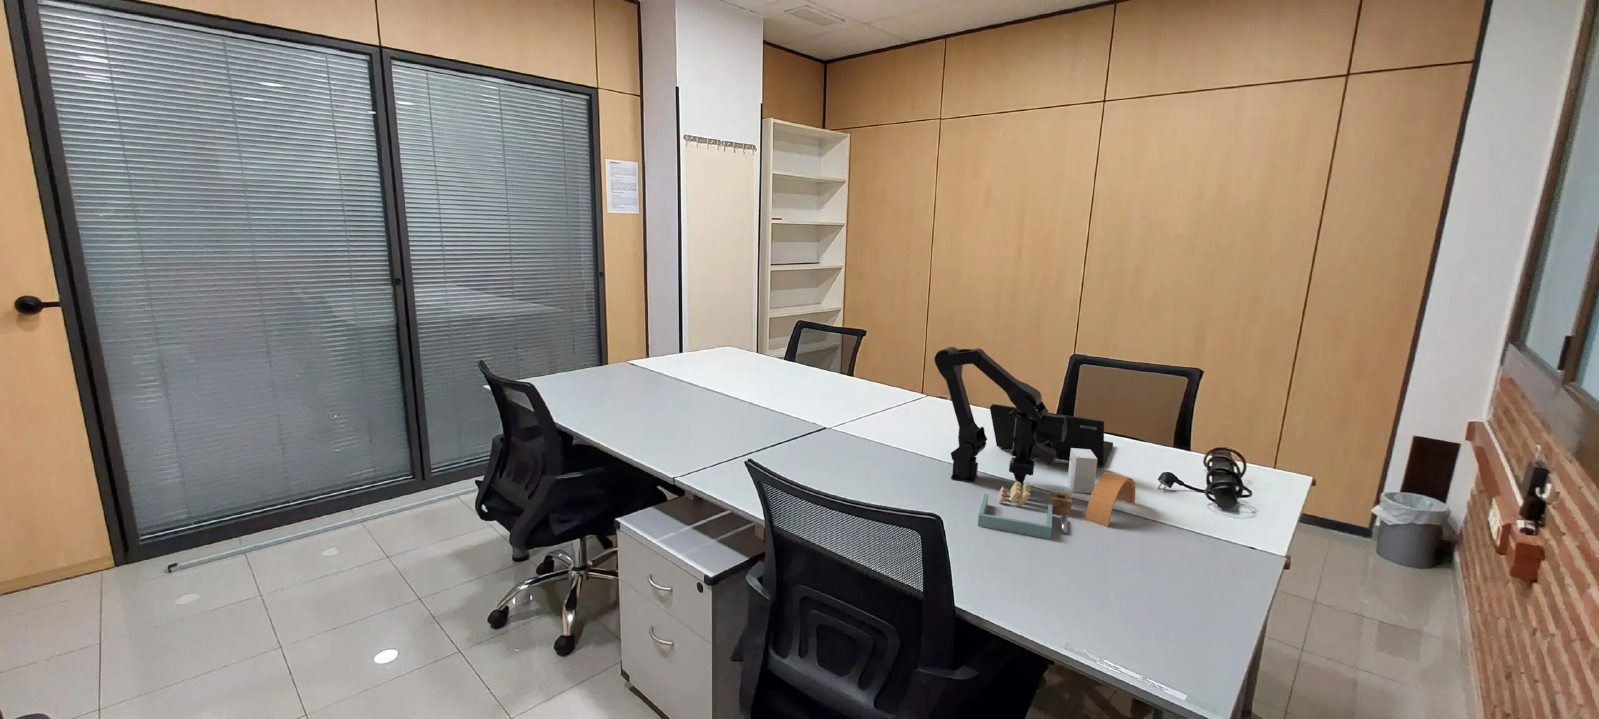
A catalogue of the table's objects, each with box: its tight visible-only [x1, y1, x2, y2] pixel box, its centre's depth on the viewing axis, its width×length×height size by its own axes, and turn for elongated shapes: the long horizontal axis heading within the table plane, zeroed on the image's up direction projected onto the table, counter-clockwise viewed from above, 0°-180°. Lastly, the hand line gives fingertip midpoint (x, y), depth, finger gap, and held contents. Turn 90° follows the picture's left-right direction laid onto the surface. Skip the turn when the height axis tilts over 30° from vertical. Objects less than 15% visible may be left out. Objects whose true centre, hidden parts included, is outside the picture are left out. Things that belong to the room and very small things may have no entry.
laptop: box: [989, 403, 1114, 468], centre depth 207 cm, size 33×38×19 cm
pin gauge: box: [1060, 515, 1068, 535], centre depth 158 cm, size 1×8×1 cm, turn 158°
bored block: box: [1049, 491, 1072, 517], centre depth 167 cm, size 5×5×4 cm
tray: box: [977, 493, 1053, 540], centre depth 161 cm, size 17×14×3 cm
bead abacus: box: [998, 480, 1032, 508], centre depth 172 cm, size 5×7×8 cm
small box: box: [1067, 448, 1098, 494], centre depth 181 cm, size 8×6×10 cm
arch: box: [1084, 471, 1136, 528], centre depth 167 cm, size 6×20×10 cm, turn 135°
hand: (1020, 486), depth 179 cm, fingers closed
